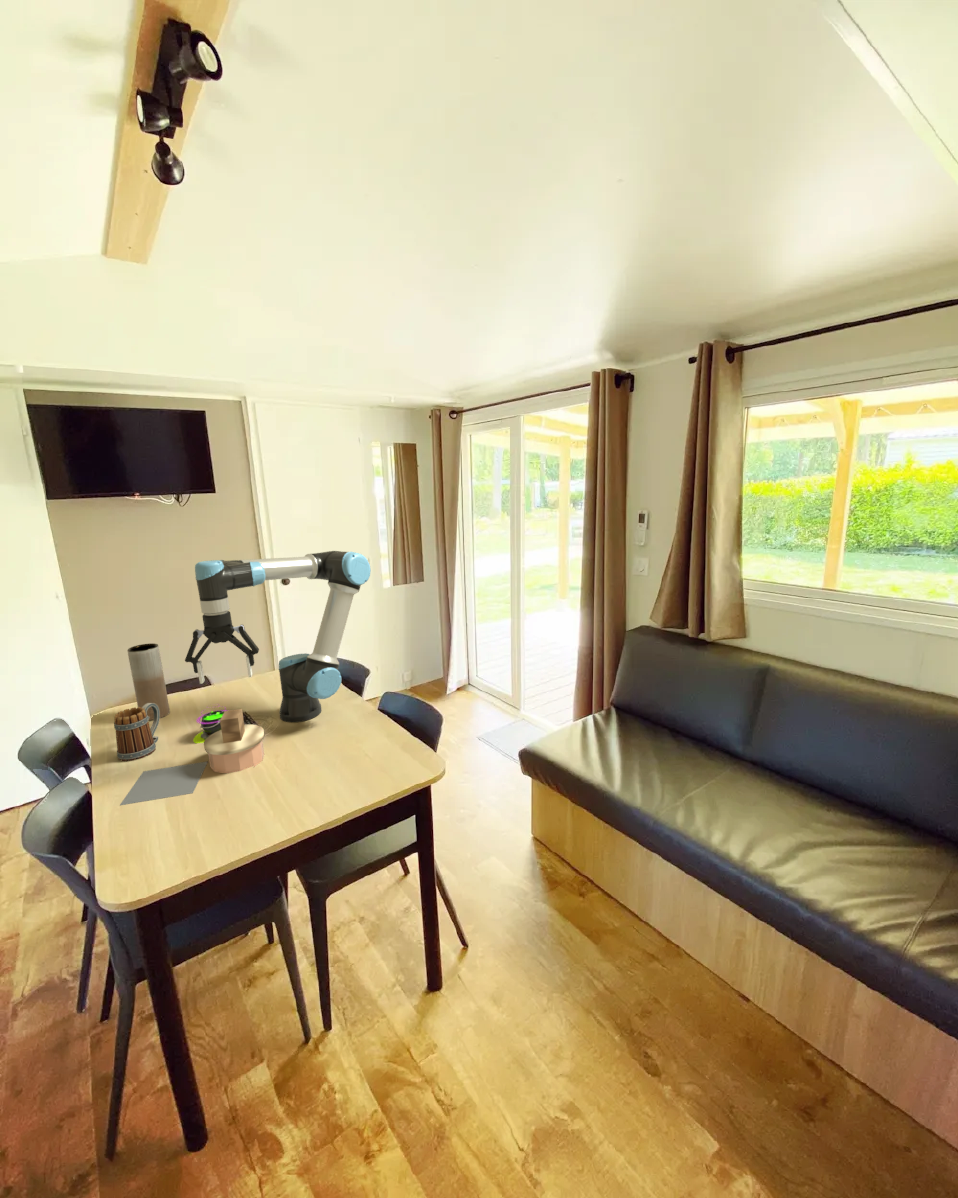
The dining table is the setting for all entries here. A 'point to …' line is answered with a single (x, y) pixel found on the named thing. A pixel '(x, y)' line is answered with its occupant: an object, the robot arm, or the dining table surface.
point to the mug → (136, 732)
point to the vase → (148, 678)
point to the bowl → (237, 760)
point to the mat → (165, 783)
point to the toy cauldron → (209, 725)
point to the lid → (233, 735)
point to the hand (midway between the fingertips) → (226, 679)
